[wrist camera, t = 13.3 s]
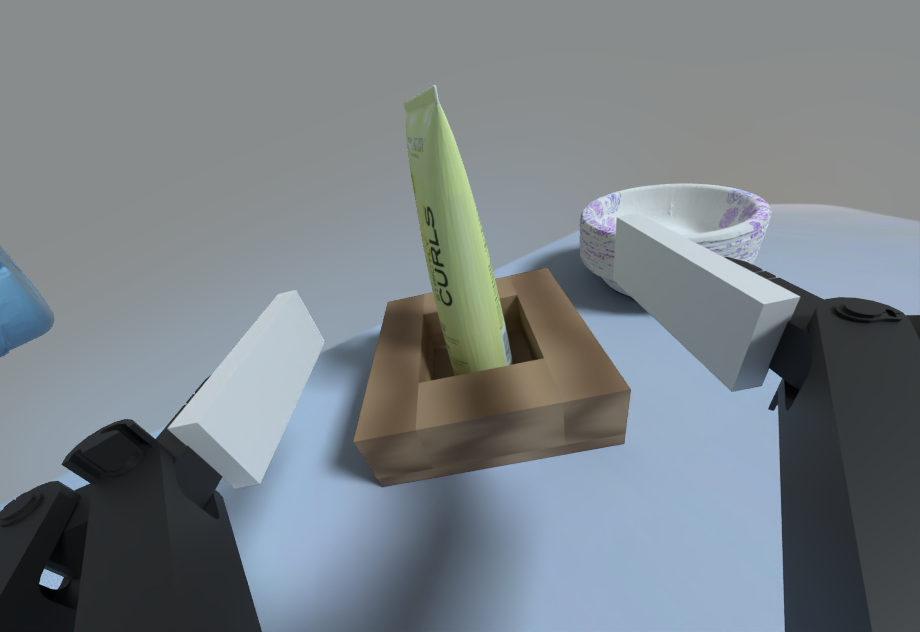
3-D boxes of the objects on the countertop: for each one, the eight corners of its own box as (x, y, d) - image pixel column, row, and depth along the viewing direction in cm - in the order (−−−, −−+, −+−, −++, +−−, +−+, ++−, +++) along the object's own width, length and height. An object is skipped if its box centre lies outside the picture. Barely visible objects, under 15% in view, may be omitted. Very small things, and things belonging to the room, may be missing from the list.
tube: (437, 384, 27) (342, 111, 16) (466, 345, 30) (404, 99, 20) (499, 402, 24) (434, 84, 13) (524, 357, 27) (487, 75, 17)
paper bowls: (790, 306, 27) (829, 214, 23) (602, 329, 30) (605, 250, 26) (694, 239, 40) (708, 171, 36) (567, 259, 42) (565, 198, 38)
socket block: (382, 487, 21) (353, 441, 19) (402, 340, 35) (387, 302, 32) (624, 443, 20) (631, 389, 18) (550, 310, 34) (547, 267, 31)
